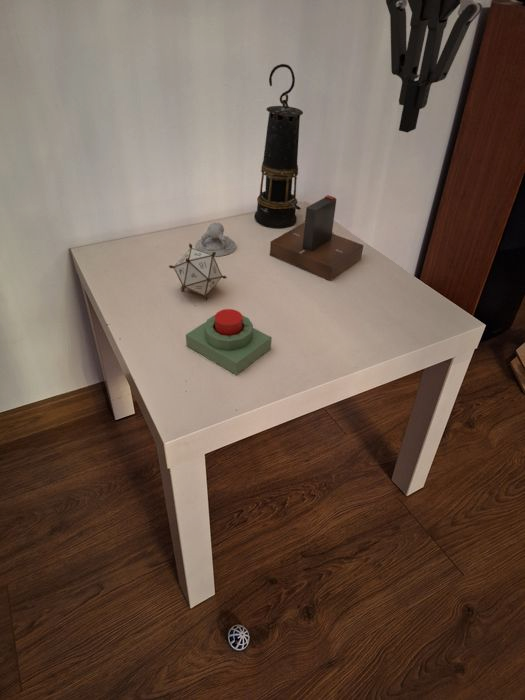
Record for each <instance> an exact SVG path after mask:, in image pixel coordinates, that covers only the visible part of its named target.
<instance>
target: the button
mask: <svg viewBox="0 0 525 700" xmlns="http://www.w3.org/2000/svg"><path fill="white" fill-rule="evenodd" d="M214 315H215V330H216V332H217V333H219V334H220V335H226V336H232V335H237V334H239V333H240V332H241V331H242V318H243V317H242V315H243V314H242V313H241V312H240V311H239V310H236V309H234V308H233V309H232V308H224V309H221V310H218V312H216V313H215V314H214Z"/></svg>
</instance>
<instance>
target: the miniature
mask: <svg viewBox="0 0 525 700" xmlns="http://www.w3.org/2000/svg"><path fill="white" fill-rule="evenodd" d="M224 232H225V227H224V225H223V223H220V222H212V223H210V224H209V225H208V227H207V230H206V232H205V233H203V234H202V236H201V238H200V239H199V240H198V241H197V242H196V243H195V245H194V247H195V248H194V249H197V250H200V251H203V252H206V253H209V254H212V253H213V252H216V255H215V257H224V256H228V255H231V254H233V253H234V252H235V251H236V250H237V244H236V242H234V241H233V240H232V239H231V238H230V237H229V236H225V235H224Z"/></svg>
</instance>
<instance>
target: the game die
mask: <svg viewBox="0 0 525 700" xmlns="http://www.w3.org/2000/svg"><path fill="white" fill-rule="evenodd" d="M188 248H189V249H188V251H187V252H186V253H185V254H183V256H182V257H181V258H180V259H179V260H178V261H177V263H176V264H175V265H172V264H170V265H168V267H169V268H170V269H173V271H174V272H175V274H176V275H177V278H178V280H179V282H180V284H181V286H180V292H185V291H186V290H187V291H190V292H193V293H195V294H198V295H201V296H203V299H204V300H205V301H206V302H207V300H208V296H207V295H208V294H209V292H210V291H211V290H213V288H214V287H215V286H216V285H217V284H218V283H219V281H221V280H222V279H224V280H226V279H228V277H227V276H226V275H223V274H222V272H221V270H220V268H219V264H218V263H217V261H216V258H215V257H216V256H215V255H216V252H213V253H212V254H209V253H206V252H203V251H200V250H197V249H196V248H193V244H191V242H189V244H188Z"/></svg>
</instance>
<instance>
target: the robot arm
mask: <svg viewBox="0 0 525 700" xmlns="http://www.w3.org/2000/svg"><path fill="white" fill-rule="evenodd" d="M385 3H386V7H387V10H388V12H389V20H390V22H389V24H390V26H389V27H390V28H389V29H390V62H391V63H390V65H391V66H390V67H391V68H390V69H391V74H392V75H393V76H397V77H398V78H400V79H401V86H400V93H399V97H398V104H399V105H400V106H402V110H401V116H400V121H399V126H398V131H399V132H403V133H407V134H408V133H410V132H412V131H415V130H416V129H417V124H418V119H419V114H420V110H422V109H424V108H426V107H427V104H428V101H429V100H428V99H429V95H430V90H431V86H432V84H435V83H438V82H441V81H443V80H445V79H446V78H447V76H448V74H449V72H450V69H451V68H452V65H453V63H454V61H455V58H456V56H457V54H458V51H459V49H460V47H461V45H462V43H463V41H464V39H465V37H466V34H467V32H468V29H469V28H470V25H471V24H472V23H473V22H474V20H475V19H476V18H477V16H479V14H481V12H482V10H483V6H482V4H481V2H476V1H474V0H385ZM407 5H408V7H409V9H410V11H411V17H410V22H409V26H410V31H409V35H408V36H409V37H408V41H407V9H406V7H407ZM458 7H459V8H458ZM457 8H458V11H457V15H458V17H457V19H456V20H455V21H454V23H453V26H452V29H451V30H450V33H449V35H448V37H447V39H446V42H445V44H444V46H443V49H442V51H441V54H440V50H441V46H442V41H443V36H444V32H445V29H446V27H447V24H448V21H449V17H450V16H451V15H452V14H453V13H454V11H455V10H456V9H457ZM426 33H427V35H426ZM425 38H426V40H425ZM424 42H425V45H424ZM423 47H424V49H423ZM422 51H423V52H422ZM422 53H423V54H422ZM439 55H440V56H439ZM421 58H422V59H421ZM420 62H421V65H420ZM419 68H420V69H419ZM418 72H419V74H418ZM416 79H417V80H416Z"/></svg>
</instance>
